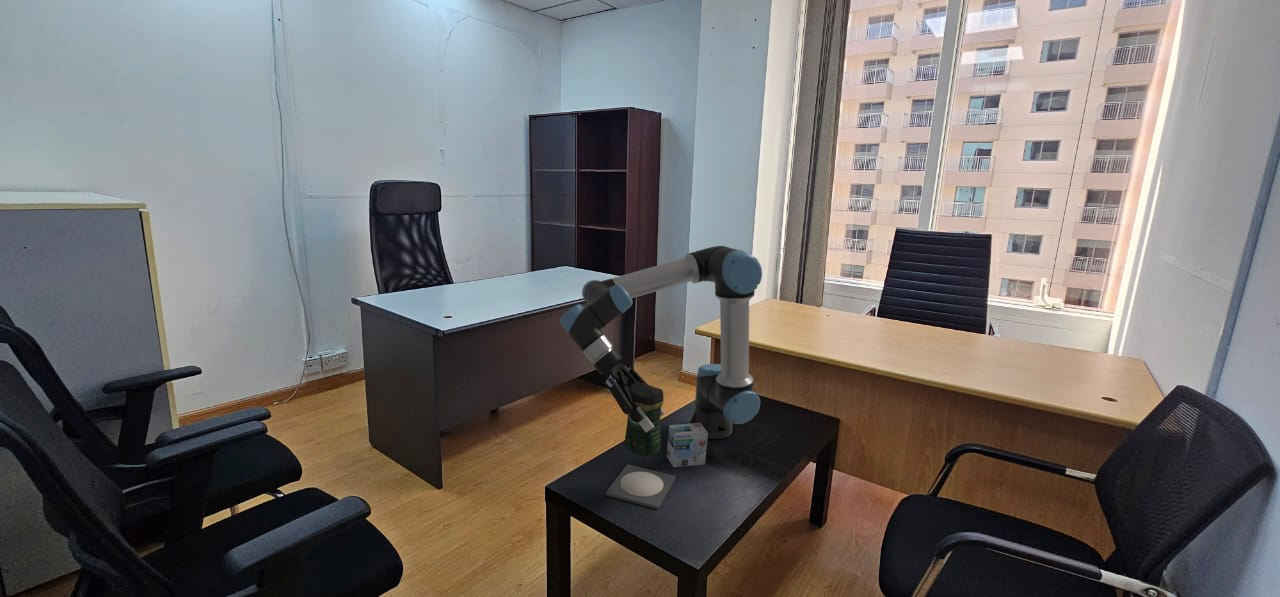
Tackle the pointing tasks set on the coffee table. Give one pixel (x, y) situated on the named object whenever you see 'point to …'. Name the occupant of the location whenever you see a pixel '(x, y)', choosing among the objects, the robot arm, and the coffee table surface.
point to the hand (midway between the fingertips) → (655, 422)
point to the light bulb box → (687, 444)
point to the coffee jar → (651, 405)
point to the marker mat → (641, 486)
